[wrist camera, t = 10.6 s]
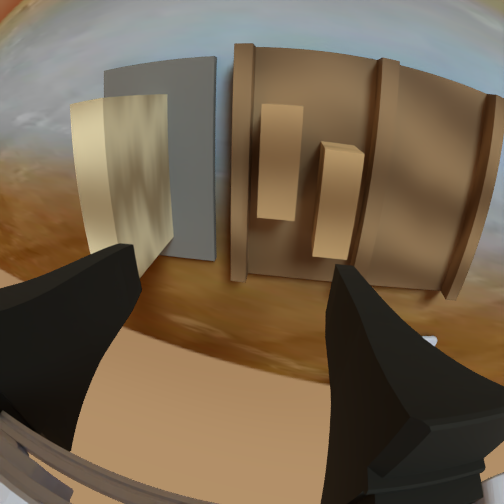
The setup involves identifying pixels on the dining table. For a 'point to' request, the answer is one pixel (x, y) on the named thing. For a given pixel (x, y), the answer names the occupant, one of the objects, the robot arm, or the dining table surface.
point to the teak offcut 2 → (336, 199)
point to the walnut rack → (368, 166)
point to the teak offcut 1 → (279, 161)
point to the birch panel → (124, 173)
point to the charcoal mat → (182, 143)
